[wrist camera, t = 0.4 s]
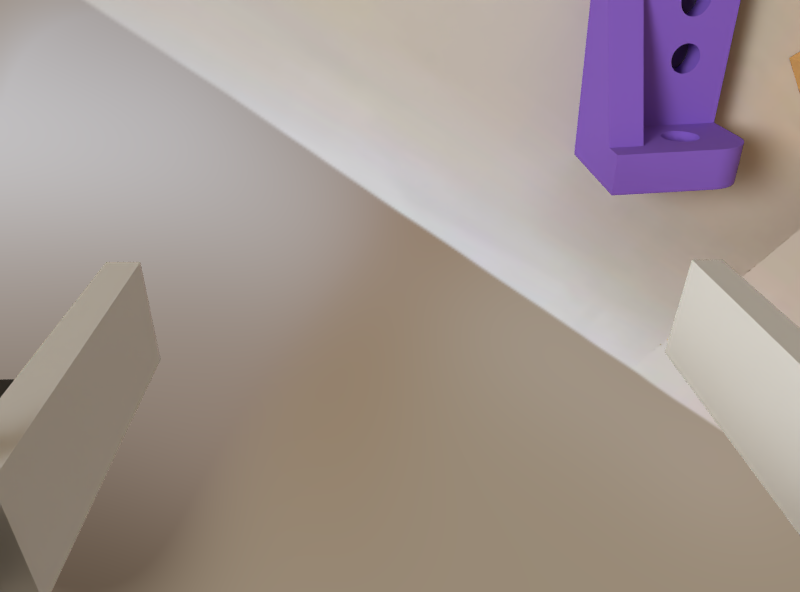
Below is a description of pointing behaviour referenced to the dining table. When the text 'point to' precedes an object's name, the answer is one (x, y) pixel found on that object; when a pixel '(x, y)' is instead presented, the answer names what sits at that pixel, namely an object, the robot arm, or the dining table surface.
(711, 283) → the robot arm
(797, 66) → the sleeve
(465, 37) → the dining table surface
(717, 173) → the bracket
